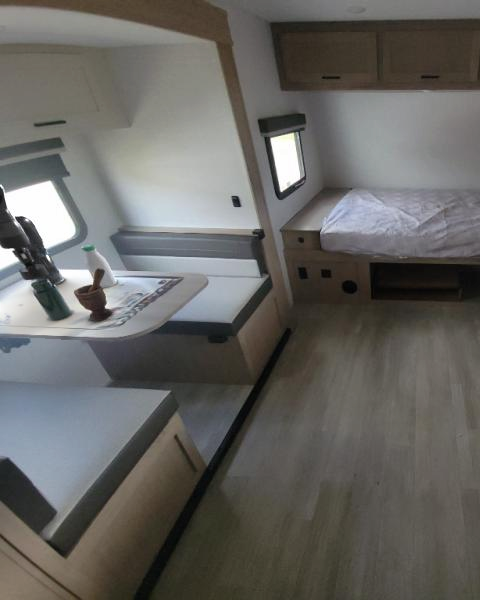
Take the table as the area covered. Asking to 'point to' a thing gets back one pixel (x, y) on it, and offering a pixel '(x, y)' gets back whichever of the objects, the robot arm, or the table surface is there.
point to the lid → (28, 276)
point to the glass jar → (50, 299)
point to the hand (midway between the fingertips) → (34, 273)
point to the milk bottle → (98, 265)
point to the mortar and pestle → (94, 297)
